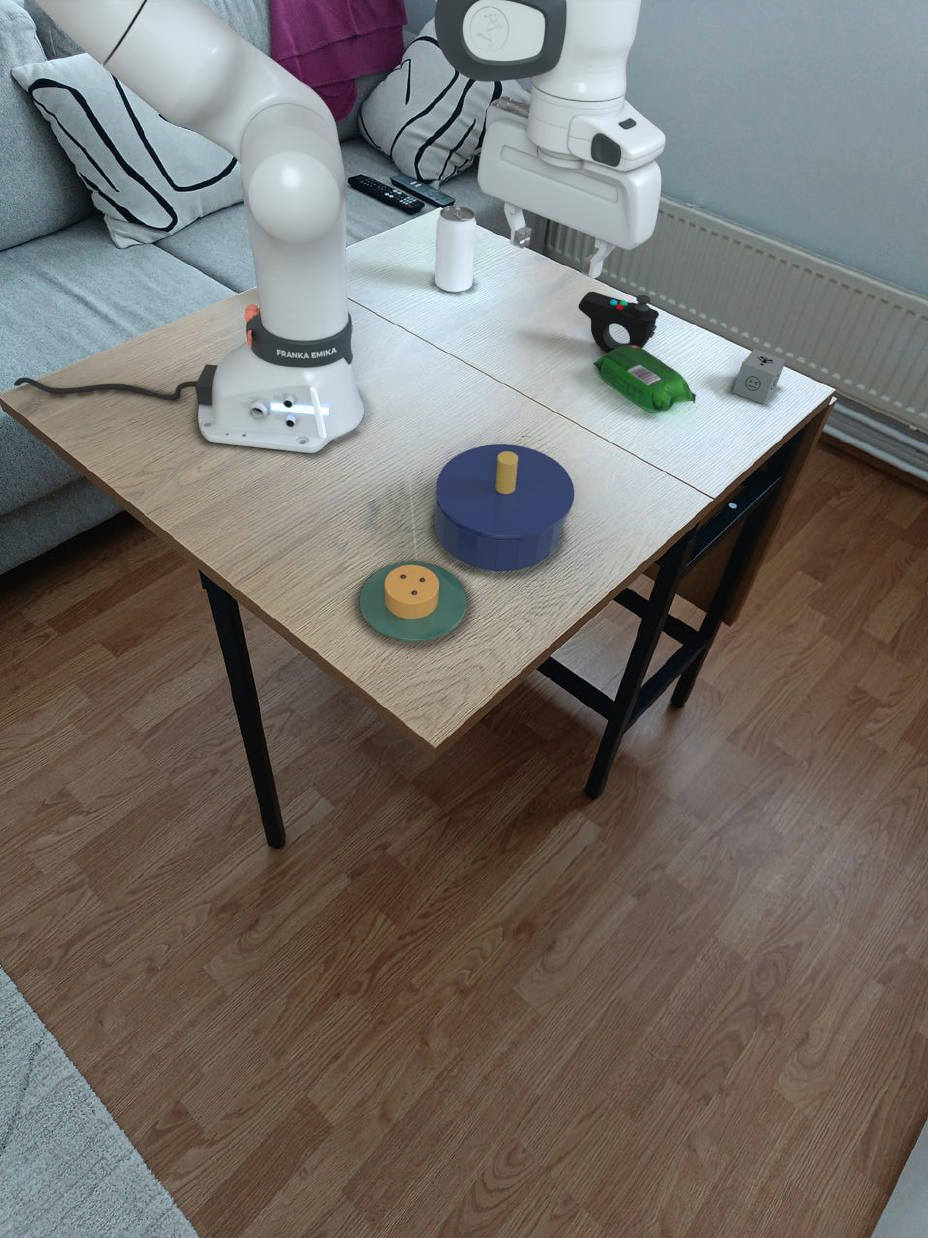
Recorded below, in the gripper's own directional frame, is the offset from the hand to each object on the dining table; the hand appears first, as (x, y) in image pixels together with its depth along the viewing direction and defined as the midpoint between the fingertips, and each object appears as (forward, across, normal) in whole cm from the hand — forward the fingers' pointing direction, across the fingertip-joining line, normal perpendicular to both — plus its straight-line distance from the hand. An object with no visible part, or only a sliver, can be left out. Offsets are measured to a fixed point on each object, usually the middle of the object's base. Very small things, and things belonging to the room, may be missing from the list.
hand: (554, 259), depth 94 cm
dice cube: (+29, +13, +40) cm, 52 cm away
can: (+29, -40, +33) cm, 59 cm away
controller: (+29, -8, +34) cm, 46 cm away
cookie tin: (+29, +4, -11) cm, 31 cm away
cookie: (+28, +5, -28) cm, 40 cm away
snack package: (+29, +1, +27) cm, 40 cm away
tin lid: (+23, +4, -11) cm, 26 cm away
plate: (+29, +5, -28) cm, 40 cm away
